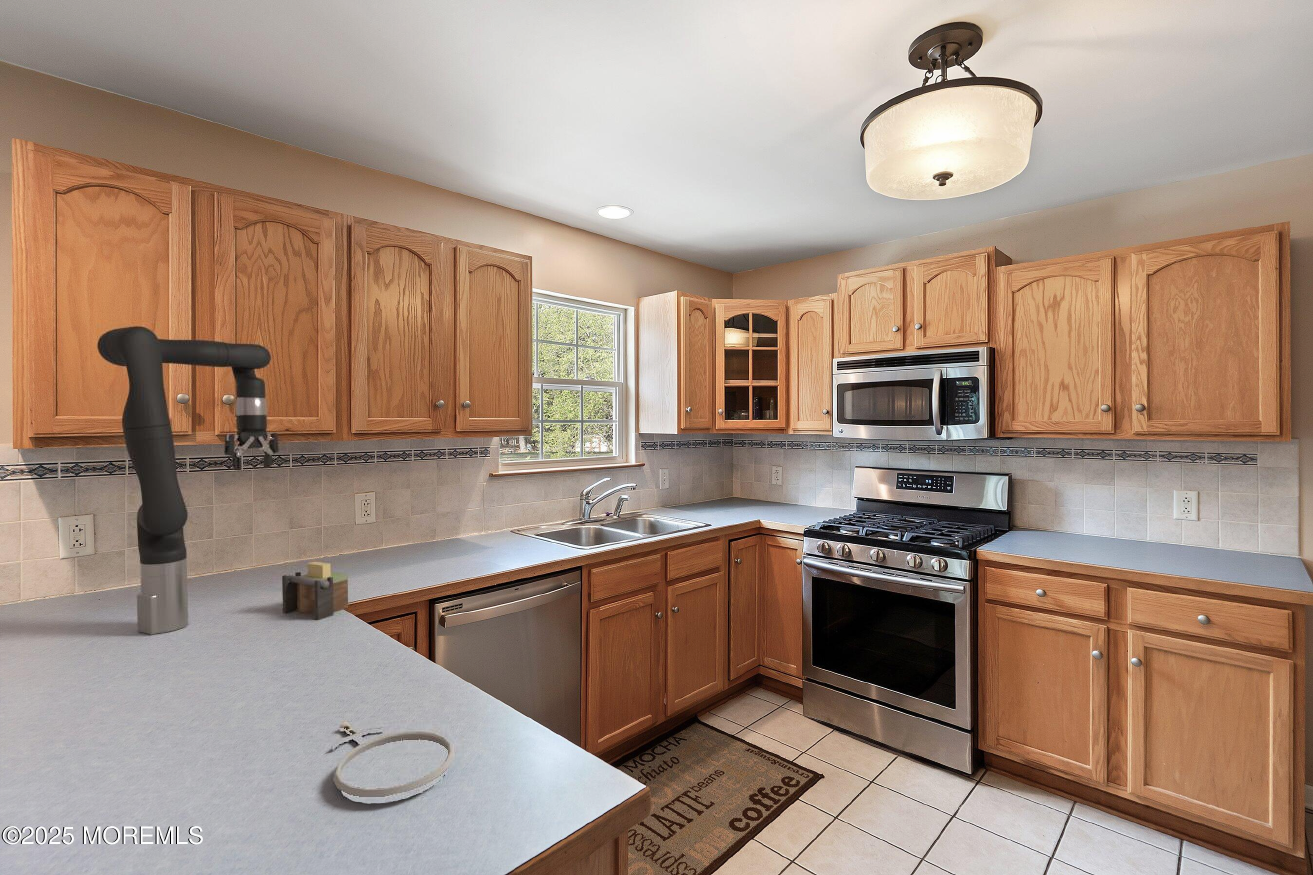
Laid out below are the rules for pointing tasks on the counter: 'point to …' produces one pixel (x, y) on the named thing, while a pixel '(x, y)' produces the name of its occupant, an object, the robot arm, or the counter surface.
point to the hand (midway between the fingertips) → (252, 469)
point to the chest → (314, 597)
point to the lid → (318, 575)
